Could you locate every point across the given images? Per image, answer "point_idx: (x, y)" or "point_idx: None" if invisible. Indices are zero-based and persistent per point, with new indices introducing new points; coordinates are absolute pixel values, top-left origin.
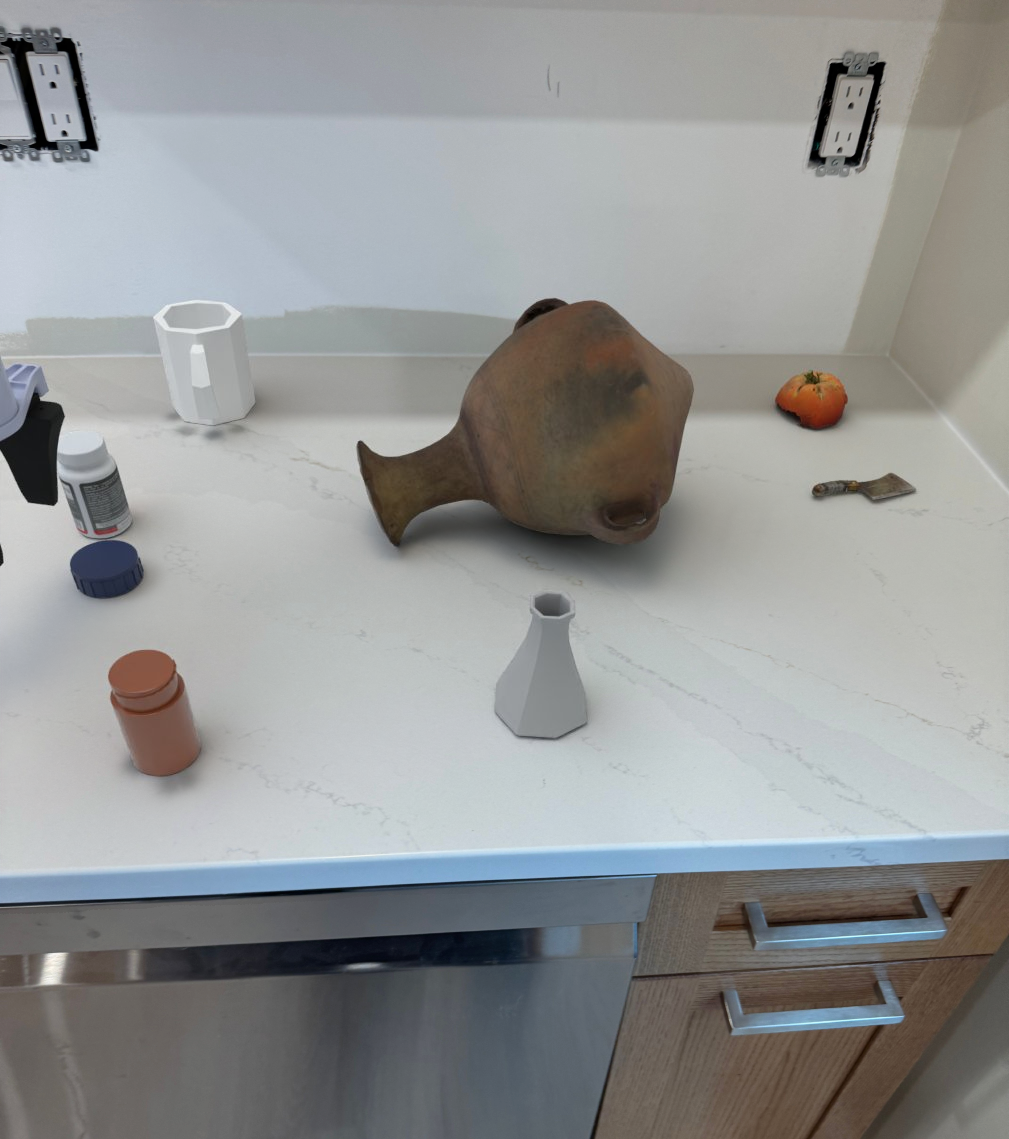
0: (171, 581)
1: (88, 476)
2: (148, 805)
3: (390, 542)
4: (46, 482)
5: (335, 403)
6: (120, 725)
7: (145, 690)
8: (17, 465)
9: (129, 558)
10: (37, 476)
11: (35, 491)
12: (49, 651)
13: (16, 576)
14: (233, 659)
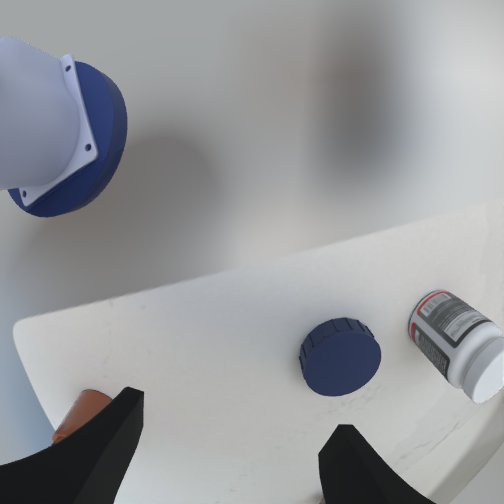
0: (319, 401)
1: (453, 376)
2: (61, 394)
3: (320, 502)
4: (328, 490)
5: (498, 417)
6: (63, 420)
7: None
8: (361, 490)
9: (338, 390)
10: (338, 491)
11: (334, 460)
12: (205, 317)
13: (358, 243)
14: (201, 445)
